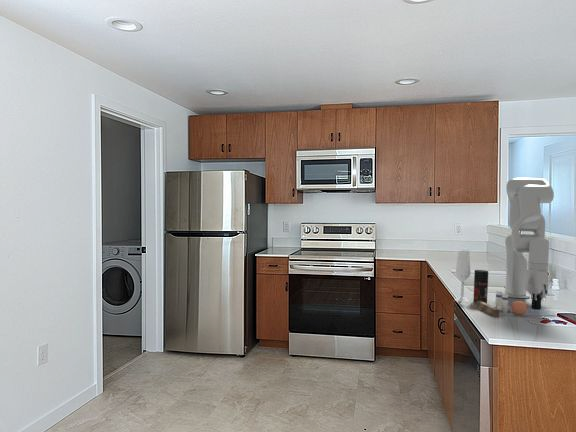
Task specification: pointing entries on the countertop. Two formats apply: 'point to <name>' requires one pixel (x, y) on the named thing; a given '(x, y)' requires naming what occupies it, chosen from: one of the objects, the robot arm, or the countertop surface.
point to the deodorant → (480, 286)
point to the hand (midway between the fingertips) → (536, 309)
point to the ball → (519, 307)
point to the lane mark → (530, 313)
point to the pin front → (501, 307)
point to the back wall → (488, 308)
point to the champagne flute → (463, 271)
